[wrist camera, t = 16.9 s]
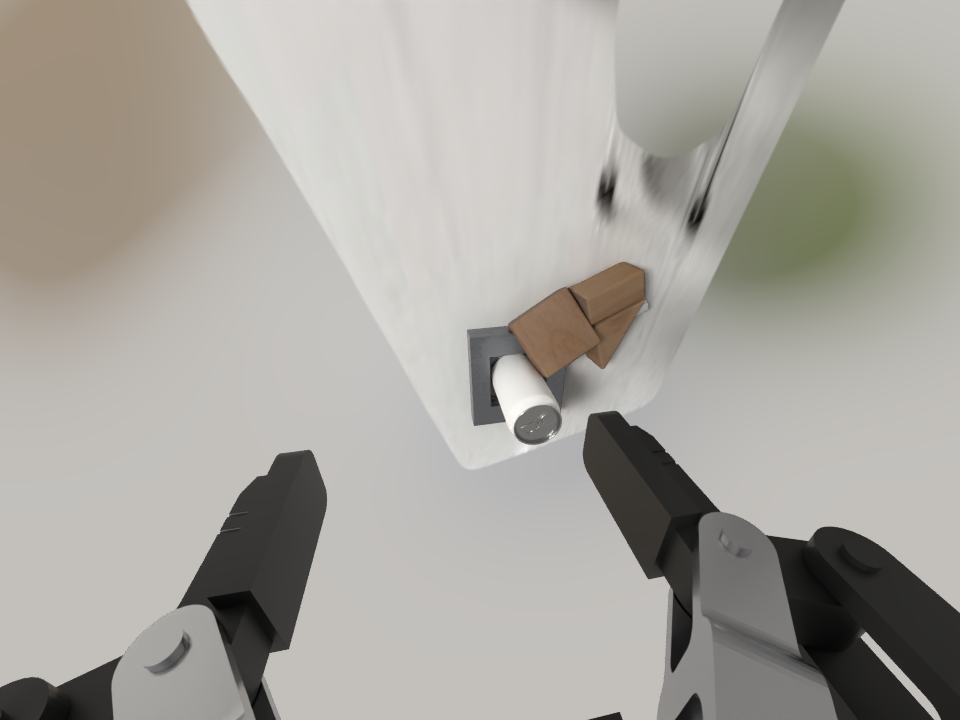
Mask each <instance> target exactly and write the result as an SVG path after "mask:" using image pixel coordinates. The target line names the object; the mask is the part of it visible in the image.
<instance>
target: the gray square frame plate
mask: <svg viewBox="0 0 960 720" xmlns="http://www.w3.org/2000/svg"><path fill="white" fill-rule="evenodd" d="M467 337H468V356H469V375H470V394H471V413H472V419H473V424H474V426H477V425H485V424H493V423H500V422H506V420H505V417H504V414H503V412H502V409H501V406H500V403H499V400H498V398H497V396H491V392H490V357H497V356H506V355H516V354H525V351H524V349H523V348H522V346H521V344H520V343H519V341H518V339H517V338H516V336H515V334H514V333H513V332H512V331H511V330H510V329H509V327H508V326H504V327H494V328H483V329H472V330H467ZM565 367H566V366H565ZM565 367H564V368H563V369H561V370H560V371H558V372H557V373H555V374H554V375H552V376H551V377H549V378H546V377H544V376H543V375H541V376H542V377H543V379H544V381H545V382H546V384H547V386H548V387H549V389H550V391H551V392H552V394H553V396H554V397H555V399H556V401H557V403H558V405H559V407H560V414H561V404H562V395H563V386H564V376H565Z"/></svg>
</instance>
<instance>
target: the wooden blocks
mask: <svg viewBox="0 0 960 720" xmlns="http://www.w3.org/2000/svg"><path fill="white" fill-rule="evenodd" d="M569 291H570V292H569ZM644 297H645V274H644V271H643V270H642V269H639V268H637V267H635V266H632V265H630V264H628V263H626V262H621V263H619V264H617V265H615V266H612V267H610V268H608V269H606V270H604V271H602V272H600V273H598V274H596V275H594V276H592V277H590V278H588V279H586V280H584V281H582V282H580V283H578V284H576V285H574V286H572V287H571V288H570V289H569V290H568V289H567V288H566V287H564V288H561V289H559V290H557V291H555V292H554V293H552V294H551V295H549V296H548V297H546V298H545V299H544V300H542V301H541V302H539V303H538V304H536V305H535V306H533V307H532V308H530V309H529V310H528V311H526V312H525V313H523V314H522V315H520V316H519V317H517V318H516V319H514V320H513V321H511V322H510V323H509V324H508V327H509V329H510V330H511V331H512V332H513V333H514V334H515V336H516V338H517V339H518V341H519V343H520V344H521V346H522V348H523V349H524V351H525V353H526V354H527V356H528V357H529V359H530V360H531V362H532V363H533V365H534V366H535V368H536V369H537V370H538V372H539V373H540V374H541V375H543V376H544V377H546V378H549V377H551V376H552V375H554V374H555V373H557V372H558V371H560V370H561V369H563V368H564V367H565V366H567V365H568V364H570V363H571V362H573V361H574V360H576V359H577V358H579V357H580V356H582V355H583V354H585V353H586V355H587V357H588V358H589V359H591V360H592V361H593V362H594V363H595V364H596V365H598V366H599V367H600V368H601V369H604V368H605V367H606V365H607V363H608V362H609V360H610V358H611V357H612V355H613V353H614V352H615V350H616V348H617V347H618V345H619V343H620V342H621V340H622V338H623V337H624V335H625V333H626V332H627V330H628V328H629V327H630V325H631V323H632V322H633V320H634V318H635V317H636V316H638V315H640V314H642V313H644V312H646V311H647V310H648V303H647V301H646V299H645V298H644Z"/></svg>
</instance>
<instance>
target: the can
mask: <svg viewBox="0 0 960 720" xmlns="http://www.w3.org/2000/svg"><path fill="white" fill-rule="evenodd" d="M491 380H492V383H493V386H494V389H495V392H496V395H497V398H498V400H499V403H500V406H501V409H502V412H503V414H504V417H505V420H506V423H507V425H508V427H509V429H510V431H511V432H512V433H513V434H514V435H515V436H516V438H517V439H518V440H519V441H521V442H522V443H525V444H529V445H536V444H541V443H544V442H546V441H548V440H550V439H551V438H553V437H554V436H555V435H556V434H557V433H558V431H559V429H560V427H561V424H562V418H561V415H560V407H559V405H558V403H557V401H556V399H555V397H554V396H553V394H552V392H551V391H550V389H549V387H548V386H547V384H546V382H545V381H544V379H543V377H542V376H541V374H540V373H539V372H538V370H537V369H536V368H535V366H534V365H533V363H532V362H531V360H530V359H529V357H527V356H526V355H523V354H516V355H506V356H504V357H502V358H500V359H499V360H498V361H497V362H496V363H495V365H494V366H493V368H492V371H491Z"/></svg>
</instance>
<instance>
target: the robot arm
mask: <svg viewBox="0 0 960 720" xmlns="http://www.w3.org/2000/svg"><path fill="white" fill-rule="evenodd" d="M583 460H584V464H585V468H586V470H587V472H588V474H589V476H590V477H591V479H592V481H593V483H594V485H595V486H596V488H597V490H598V492H599V493H600V495H601V497H602V499H603V501H604V502H605V504H606V506H607V508H608V509H609V511H610V513H611V514H612V516H613V518H614V520H615V521H616V523H617V525H618V527H619V528H620V530H621V532H622V534H623V536H624V537H625V539H626V541H627V543H628V544H629V546H630V548H631V550H632V552H633V553H634V555H635V557H636V559H637V560H638V562H639V564H640V566H641V567H642V569H643V571H644V573H645V574H646V576H647V578H648V579H652V578H657V577H662V576H665V578H666V580H667V581H668V583H669V585H670V586H671V587H670V590H669V595H668V615H667V636H666V657H665V675H664V682H663V688H662V692H661V696H660V701H659V707H658V713H657V720H837V719H838V720H934V719H933V718H932V717H931V716H930V715H929V714H928V712H927V711H926V710H925V709H924V708H923V707H922V706H921V705H920V704H919V702H918V701H917V700H916V699H915V698H914V697H913V696H912V695H911V693H910V692H909V691H908V690H907V689H906V688H905V687H904V686H903V685H902V683H901V682H900V681H899V680H898V679H897V678H896V677H895V676H894V674H893V673H892V672H891V671H890V670H889V669H888V668H887V667H886V666H885V664H884V663H883V662H882V661H881V660H880V659H879V658H878V657H877V656H876V654H875V653H874V652H873V651H872V650H871V649H870V648H869V647H868V645H867V644H866V643H865V642H864V641H863V640H862V639H861V638H860V637H861V636H862V635H863V634H864V633H865V632H867V633H868V634H869V635H870V636H871V638H872V639H873V640H874V641H875V642H876V643H877V644H878V645H879V646H880V647H881V648H882V650H883V651H884V652H885V653H886V654H887V655H888V656H889V657H890V658H891V659H892V660H893V662H894V663H895V664H896V665H897V666H898V667H899V668H900V669H901V670H902V671H903V672H904V673H905V675H907V677H908V678H909V679H910V680H911V681H912V682H913V683H914V684H915V685H916V686H917V688H918V689H919V690H920V691H921V692H922V693H923V694H924V695H925V696H926V697H927V699H928V700H929V701H930V702H931V704H932V705H933V706H934V707H935V709H936V711H937V712H938V714H939V716H940V718H941V720H960V613H959V612H958V611H957V610H956V609H954V608H953V607H952V606H951V605H950V604H949V603H947V602H946V601H945V600H944V599H943V598H942V597H940V596H939V595H938V594H936V592H935V591H933V590H932V589H931V588H930V587H929V586H928V585H926V584H925V583H924V582H923V581H922V580H920V579H919V578H918V577H917V576H916V575H915V574H913V573H912V572H911V571H910V570H909V569H908V568H906V567H905V566H904V565H903V564H902V563H901V562H899V561H898V560H897V559H896V558H895V557H894V556H892V555H891V554H890V553H889V552H887V551H886V550H885V549H884V548H882V547H881V546H879V545H878V544H876V543H874V542H873V541H871V540H869V539H868V538H866V537H864V536H862V535H859V534H857V533H855V532H852V531H849V530H846V529H843V528H838V527H822V528H820V529H818V530H817V531H816V532H815V533H814V535H813V536H812V537H811V539H810V540H809V541H803V540H796V539H789V538H781V537H774V536H768V535H765V534H764V533H762V532H761V531H760V530H759V529H758V528H757V527H755V526H754V525H753V524H751V523H750V522H748V521H746V520H744V519H742V518H740V517H738V516H735V515H732V514H728V513H723V512H720V511H719V510H718V509H717V508H716V506H714V504H713V503H712V502H711V501H710V500H709V498H708V497H707V496H706V495H705V494H704V493H703V492H702V491H701V489H700V488H699V487H698V486H697V485H696V484H695V483H694V482H693V481H692V479H691V478H690V477H689V476H688V475H687V474H686V473H685V472H684V470H683V469H682V468H681V467H680V466H679V465H678V464H676V463H675V461H674V459H673V458H672V457H671V456H670V455H669V454H668V453H666V452H665V449H664V448H663V447H662V446H661V445H660V444H659V443H658V441H657V440H656V439H655V438H654V437H653V436H652V435H650V434H648V433H647V432H646V431H644V430H642V429H641V428H639V427H638V426H630V425H629V424H628V423H627V422H626V421H625V419H624V418H623V417H622V416H621V414H620V413H619V412H617V411H609V412H602V413H594V414H590V416H589V418H588V423H587V429H586V435H585V442H584V448H583ZM326 506H327V493H326V488H325V485H324V482H323V480H322V477H321V474H320V471H319V469H318V466H317V463H316V460H315V458H314V455H313V453H312V452H311V451H310V450H304V451H297V452H289V453H281V454H279V455H277V457H276V458H275V460H274V462H273V464H272V466H271V468H270V470H269V472H268V474H267V475H266V476H259V477H257V478H256V479H255V480H254V481H253V482H252V483H251V484H250V485H249V486H248V487H247V488H246V489H245V490H244V491H243V492H242V493H241V494H240V495H239V497H238V499H237V501H236V502H235V504H234V506H233V508H232V510H231V511H230V513H229V514H230V516H229V517H228V518H227V519H226V520H225V522H224V524H223V526H222V528H221V530H220V531H221V532H220V534H218V535H217V537H216V539H215V541H214V542H213V544H212V546H211V548H210V550H209V552H208V553H207V556H206V557H205V559H204V561H203V563H202V565H201V566H200V568H199V570H198V572H197V573H196V575H195V577H194V579H193V581H192V583H191V584H190V586H189V588H188V590H187V592H186V594H185V595H184V597H183V599H182V601H181V602H180V604H179V606H178V607H177V609H176V610H174V611H172V612H170V613H168V614H167V615H165V616H163V617H161V618H160V619H158V620H157V621H156V622H154V623H153V624H152V625H150V626H149V627H148V628H147V629H146V630H145V631H143V632H142V633H141V634H140V636H138V637H137V638H136V640H135V641H134V642H133V643H132V644H131V646H130V647H129V648H128V649H127V651H126V652H125V654H124V655H122V656H121V657H119V658H117V659H114V660H113V661H110V662H108V663H106V664H104V665H102V666H100V667H98V668H96V669H94V670H91V671H89V672H87V673H85V674H83V675H81V676H79V677H77V678H74V679H72V680H70V681H68V682H66V683H64V684H62V685H60V686H58V687H54V686H53V685H51V684H50V683H48V682H46V681H45V680H43V679H40V678H35V677H30V678H24V679H20V680H17V681H14V682H11V683H9V684H7V685H5V686H2V687H1V688H0V720H281V719H280V716H279V714H278V711H277V709H276V706H275V703H274V701H273V698H272V696H271V693H270V690H269V688H268V685H267V682H266V680H265V678H264V676H263V673H264V670H265V666H266V663H267V659H268V656H269V653H272V652H277V651H282V650H287V649H289V647H290V642H291V639H292V636H293V632H294V628H295V624H296V620H297V617H298V613H299V609H300V605H301V601H302V598H303V594H304V591H305V587H306V583H307V579H308V576H309V572H310V568H311V564H312V561H313V557H314V553H315V549H316V546H317V542H318V538H319V534H320V531H321V527H322V523H323V519H324V516H325V512H326ZM590 720H622V717H621V714H620V712H617V713H613V714H610V715H605V716H602V717H597V718H594V719H590Z"/></svg>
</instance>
